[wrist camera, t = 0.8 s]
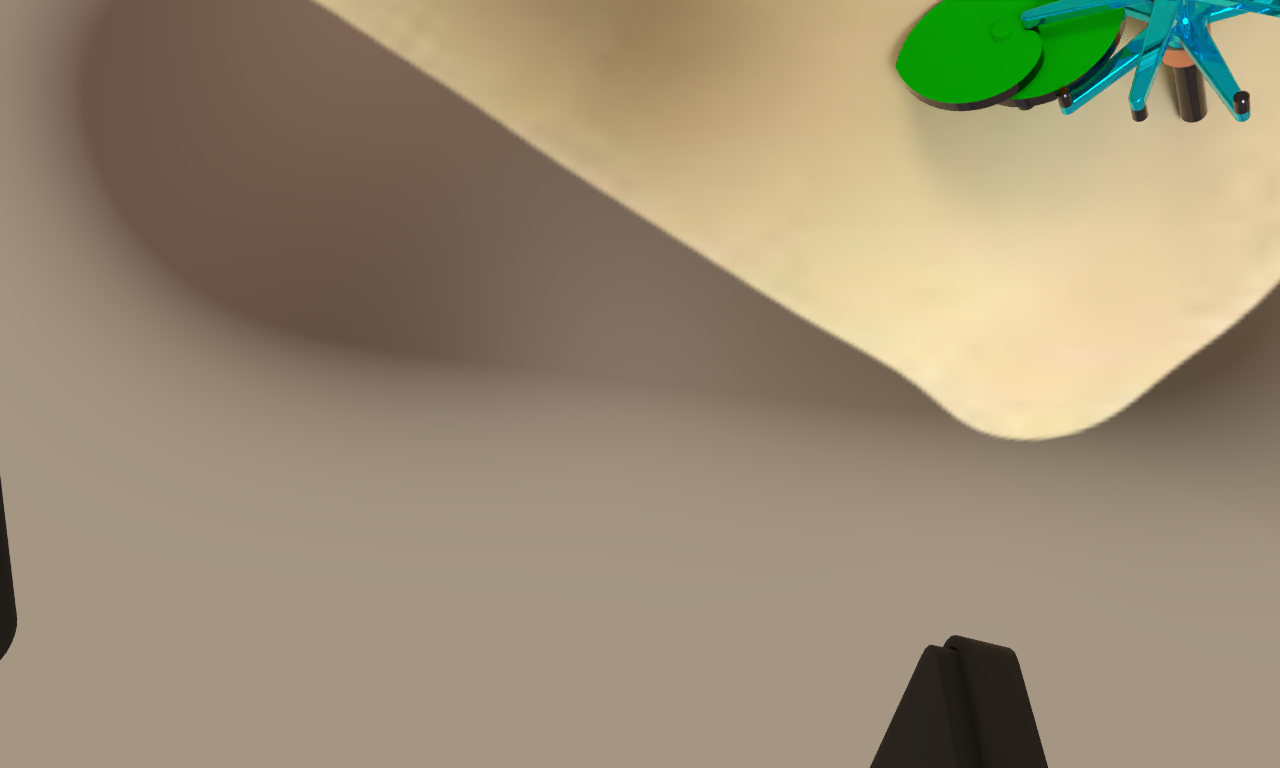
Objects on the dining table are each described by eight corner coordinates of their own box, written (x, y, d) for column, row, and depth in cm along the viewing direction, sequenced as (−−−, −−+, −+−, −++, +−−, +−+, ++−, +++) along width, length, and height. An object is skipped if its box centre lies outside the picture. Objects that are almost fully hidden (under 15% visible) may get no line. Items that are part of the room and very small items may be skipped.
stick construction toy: (1331, -199, 28) (1381, 32, 25) (1325, -18, 33) (1366, 190, 30) (886, -57, 34) (883, 144, 31) (944, 77, 39) (946, 259, 36)
